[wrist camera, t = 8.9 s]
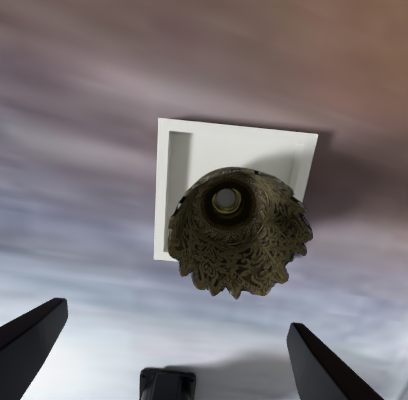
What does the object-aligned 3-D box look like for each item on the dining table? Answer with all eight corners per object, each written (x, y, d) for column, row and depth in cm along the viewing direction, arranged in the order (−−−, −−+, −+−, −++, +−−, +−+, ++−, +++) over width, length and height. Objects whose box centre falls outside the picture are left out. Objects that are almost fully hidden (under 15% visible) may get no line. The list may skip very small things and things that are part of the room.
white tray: (280, 259, 21) (287, 271, 19) (158, 247, 21) (153, 259, 19) (308, 134, 18) (321, 134, 16) (163, 119, 18) (158, 117, 16)
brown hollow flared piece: (237, 250, 20) (255, 321, 13) (168, 211, 19) (142, 263, 12) (286, 183, 18) (343, 219, 11) (212, 136, 17) (216, 139, 10)
